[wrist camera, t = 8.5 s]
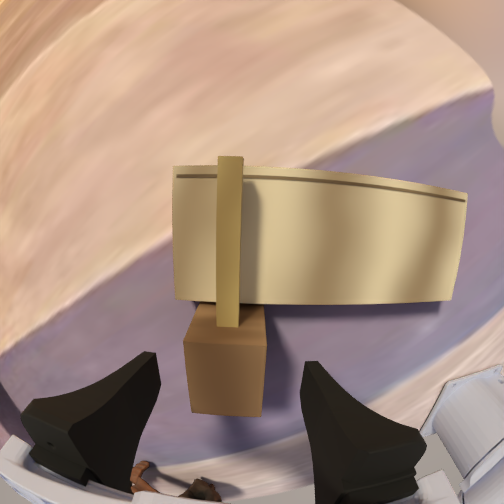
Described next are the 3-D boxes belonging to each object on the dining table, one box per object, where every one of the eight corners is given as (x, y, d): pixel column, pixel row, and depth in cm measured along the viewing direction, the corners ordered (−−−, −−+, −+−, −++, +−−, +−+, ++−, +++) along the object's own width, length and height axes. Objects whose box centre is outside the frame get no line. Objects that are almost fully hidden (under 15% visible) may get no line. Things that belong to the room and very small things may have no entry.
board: (449, 191, 15) (468, 193, 13) (435, 289, 16) (451, 300, 14) (183, 168, 15) (172, 166, 13) (184, 286, 16) (175, 299, 14)
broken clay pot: (186, 498, 24) (145, 529, 17) (149, 445, 27) (100, 471, 19) (257, 503, 20) (213, 551, 12) (212, 440, 22) (153, 483, 15)
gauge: (268, 164, 15) (276, 153, 9) (259, 357, 17) (261, 416, 12) (204, 163, 15) (178, 152, 9) (206, 354, 17) (191, 412, 12)
